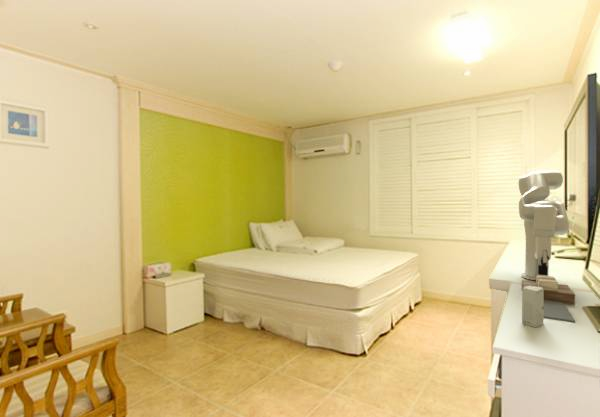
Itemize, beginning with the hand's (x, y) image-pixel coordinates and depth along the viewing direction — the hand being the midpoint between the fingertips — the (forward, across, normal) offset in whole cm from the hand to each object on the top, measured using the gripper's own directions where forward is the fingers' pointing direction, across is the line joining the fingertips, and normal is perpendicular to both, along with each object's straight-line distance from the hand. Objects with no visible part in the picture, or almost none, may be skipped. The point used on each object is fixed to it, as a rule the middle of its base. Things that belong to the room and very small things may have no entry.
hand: (542, 274), depth 143 cm
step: (+7, +10, 0) cm, 12 cm away
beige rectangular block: (+3, +11, 0) cm, 11 cm away
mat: (+7, +28, -2) cm, 29 cm away
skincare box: (+8, +45, -8) cm, 47 cm away
